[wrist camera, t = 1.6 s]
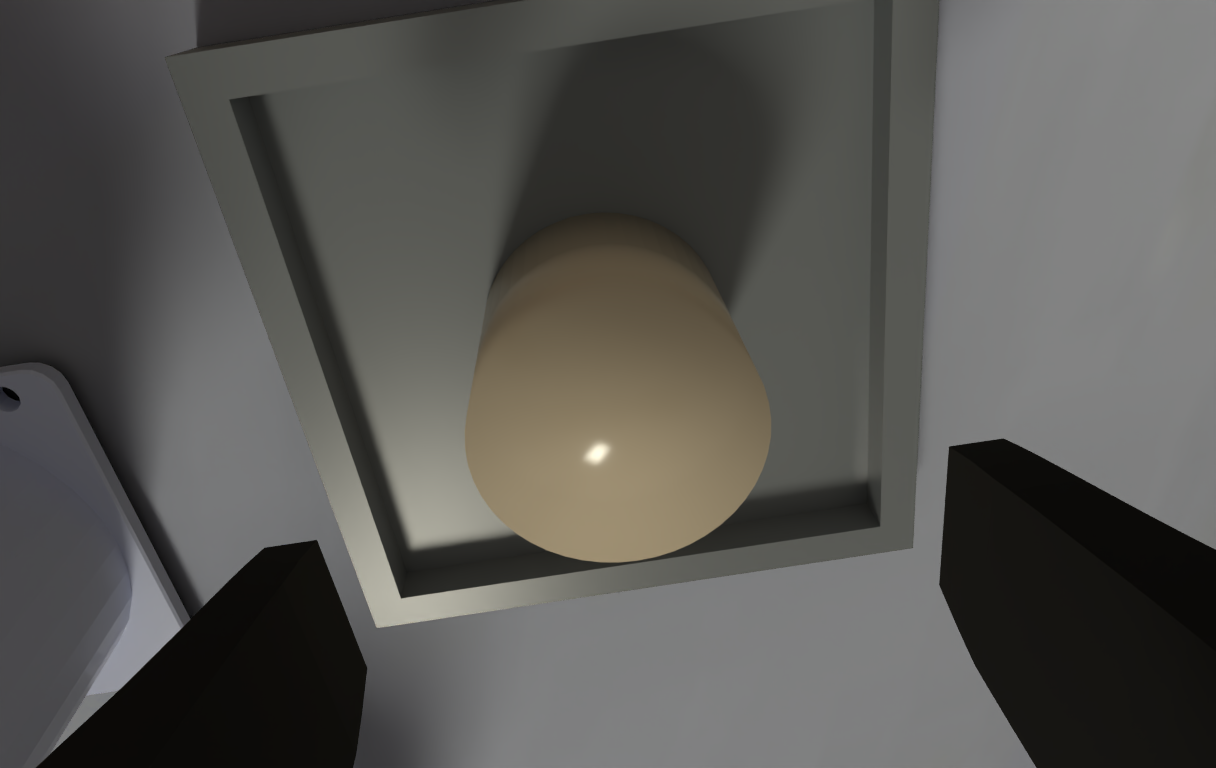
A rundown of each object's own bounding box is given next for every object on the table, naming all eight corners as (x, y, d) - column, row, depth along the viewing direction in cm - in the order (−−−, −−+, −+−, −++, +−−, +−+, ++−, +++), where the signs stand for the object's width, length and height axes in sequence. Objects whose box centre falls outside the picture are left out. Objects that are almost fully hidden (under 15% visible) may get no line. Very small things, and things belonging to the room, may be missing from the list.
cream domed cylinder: (509, 444, 16) (498, 581, 13) (460, 233, 14) (431, 327, 11) (728, 411, 16) (777, 539, 13) (711, 193, 14) (763, 277, 11)
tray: (386, 589, 19) (376, 628, 17) (195, 47, 13) (164, 57, 12) (892, 513, 18) (913, 548, 17) (910, -65, 13) (942, -66, 12)
